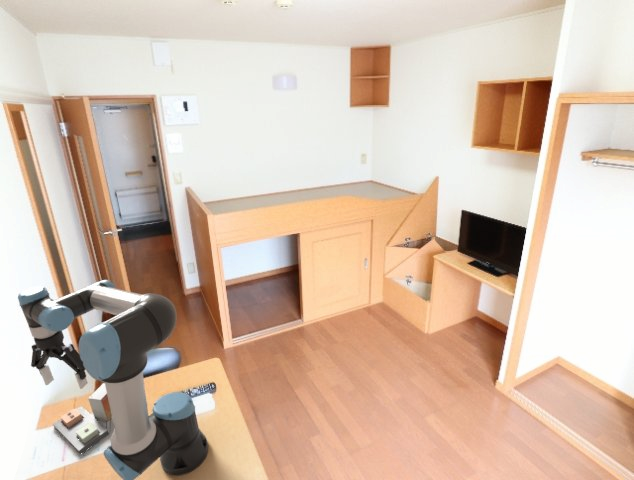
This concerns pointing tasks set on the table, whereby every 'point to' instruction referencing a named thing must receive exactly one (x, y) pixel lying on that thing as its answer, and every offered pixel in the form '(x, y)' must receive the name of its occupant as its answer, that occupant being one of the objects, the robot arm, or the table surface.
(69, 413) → the peach rectangular block
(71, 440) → the board
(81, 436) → the pale green button
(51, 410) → the table surface
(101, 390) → the small box
